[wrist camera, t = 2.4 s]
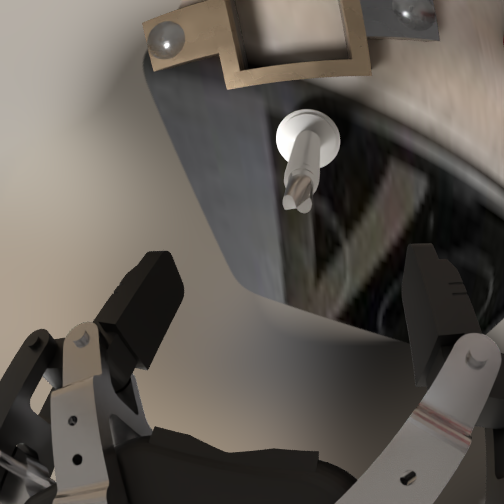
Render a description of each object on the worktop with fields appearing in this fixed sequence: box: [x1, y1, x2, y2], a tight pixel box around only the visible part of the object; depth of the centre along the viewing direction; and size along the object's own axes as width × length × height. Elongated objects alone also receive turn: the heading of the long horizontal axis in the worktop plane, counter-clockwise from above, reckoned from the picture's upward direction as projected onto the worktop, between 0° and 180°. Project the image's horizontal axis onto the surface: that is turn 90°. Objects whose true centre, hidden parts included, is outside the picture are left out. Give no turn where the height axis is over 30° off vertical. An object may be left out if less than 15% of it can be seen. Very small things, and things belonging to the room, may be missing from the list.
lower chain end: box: [230, 0, 440, 70], centre depth 16 cm, size 16×10×3 cm, turn 101°
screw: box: [276, 109, 340, 213], centre depth 18 cm, size 13×5×5 cm
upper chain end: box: [142, 0, 372, 90], centre depth 17 cm, size 16×10×3 cm, turn 101°
